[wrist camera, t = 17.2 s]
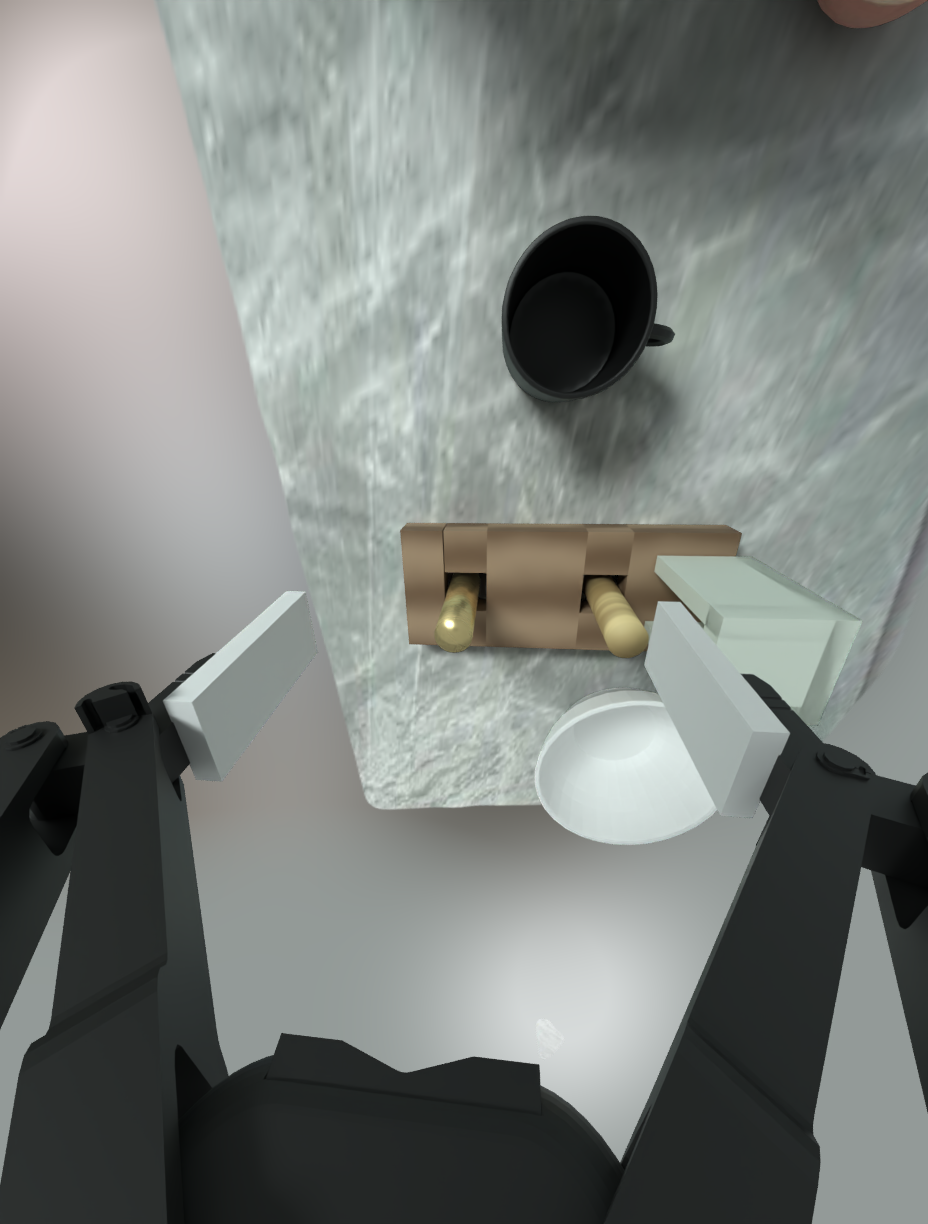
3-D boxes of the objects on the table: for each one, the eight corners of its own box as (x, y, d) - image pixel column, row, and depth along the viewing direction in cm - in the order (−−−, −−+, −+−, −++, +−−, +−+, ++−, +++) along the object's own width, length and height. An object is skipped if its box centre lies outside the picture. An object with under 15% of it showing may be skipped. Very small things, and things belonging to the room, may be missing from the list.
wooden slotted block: (407, 522, 42) (373, 561, 31) (725, 524, 39) (809, 567, 28) (414, 630, 47) (387, 696, 36) (697, 638, 44) (759, 711, 34)
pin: (451, 567, 43) (433, 618, 33) (480, 567, 43) (472, 619, 32) (451, 594, 45) (434, 652, 34) (480, 594, 44) (472, 653, 34)
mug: (634, 412, 36) (672, 412, 28) (494, 395, 36) (491, 390, 28) (669, 275, 32) (726, 228, 24) (512, 257, 32) (515, 205, 24)
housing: (657, 555, 38) (723, 617, 26) (751, 556, 37) (862, 620, 26) (642, 634, 41) (695, 720, 30) (729, 637, 40) (817, 725, 29)
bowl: (553, 797, 56) (560, 857, 48) (509, 678, 49) (510, 726, 41) (710, 769, 52) (744, 830, 44) (688, 635, 44) (725, 680, 37)
